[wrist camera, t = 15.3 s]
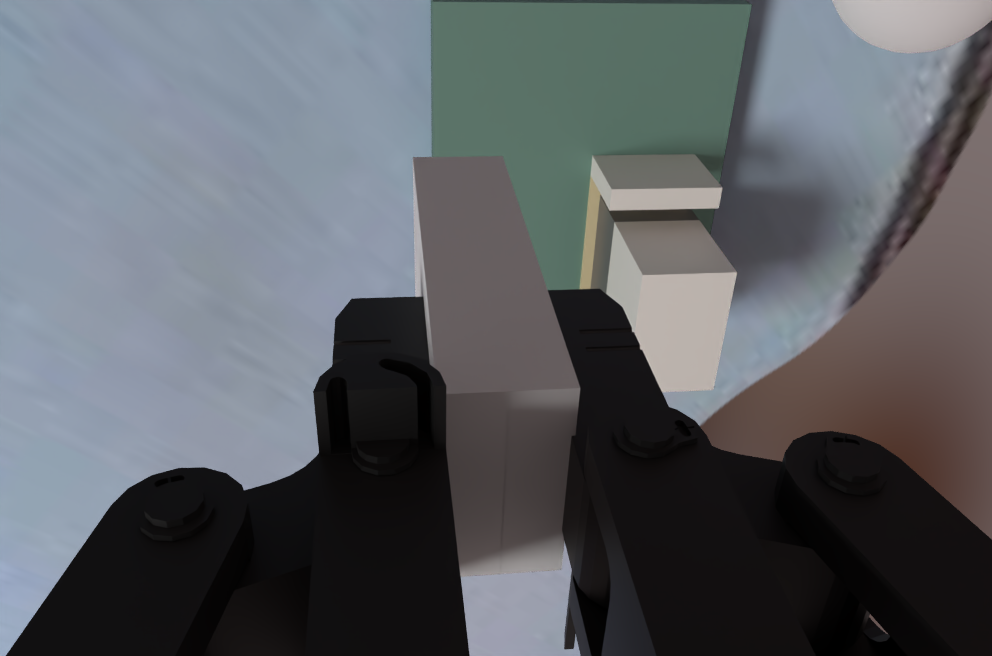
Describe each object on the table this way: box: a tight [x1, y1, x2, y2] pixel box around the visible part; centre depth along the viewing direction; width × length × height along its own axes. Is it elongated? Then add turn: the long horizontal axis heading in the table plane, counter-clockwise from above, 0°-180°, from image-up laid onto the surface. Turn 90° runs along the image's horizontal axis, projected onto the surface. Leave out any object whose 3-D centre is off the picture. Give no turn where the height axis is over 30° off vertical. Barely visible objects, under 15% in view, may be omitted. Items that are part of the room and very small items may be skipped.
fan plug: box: [590, 195, 737, 392], centre depth 41 cm, size 6×4×8 cm, turn 178°
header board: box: [431, 0, 752, 290], centre depth 41 cm, size 17×14×6 cm
